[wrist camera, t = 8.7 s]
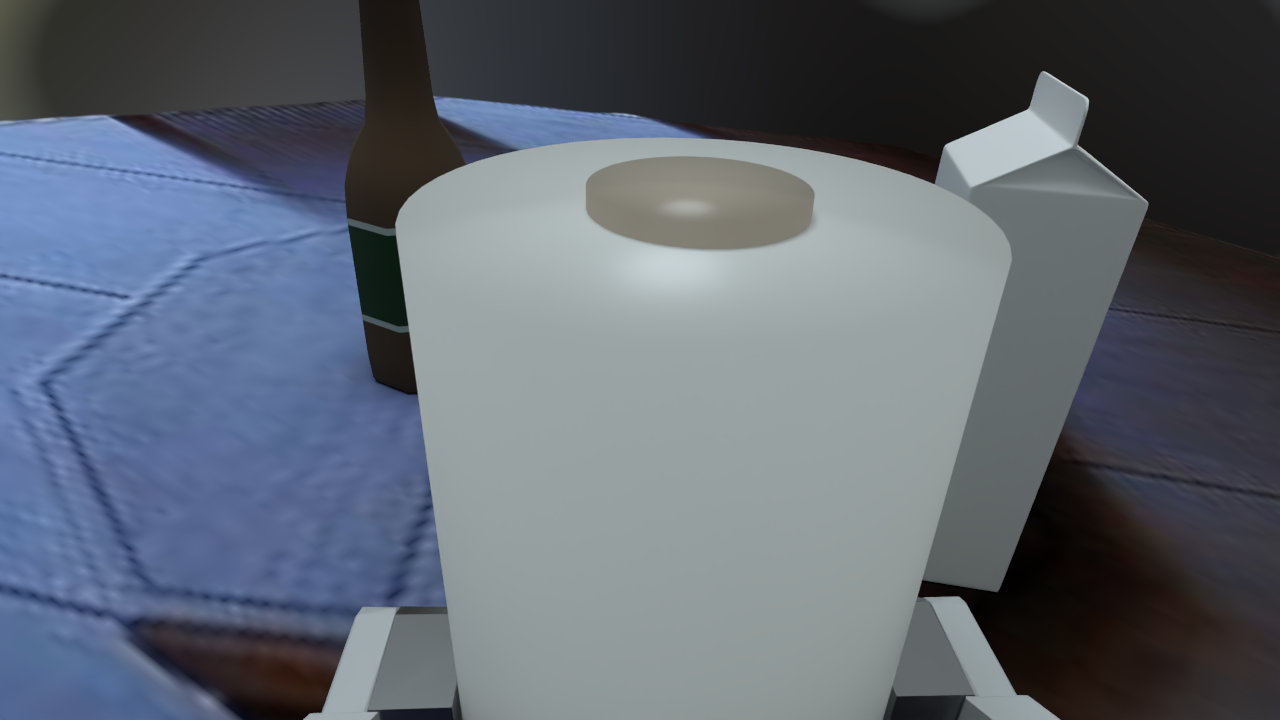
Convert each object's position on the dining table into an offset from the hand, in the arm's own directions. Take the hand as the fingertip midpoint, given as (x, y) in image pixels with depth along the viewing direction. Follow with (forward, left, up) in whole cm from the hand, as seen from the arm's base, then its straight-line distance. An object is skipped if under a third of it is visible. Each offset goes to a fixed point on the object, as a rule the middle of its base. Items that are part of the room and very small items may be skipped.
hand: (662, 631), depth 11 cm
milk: (+6, +25, -18) cm, 32 cm away
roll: (+1, -1, -7) cm, 8 cm away
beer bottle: (-26, +29, -18) cm, 43 cm away
